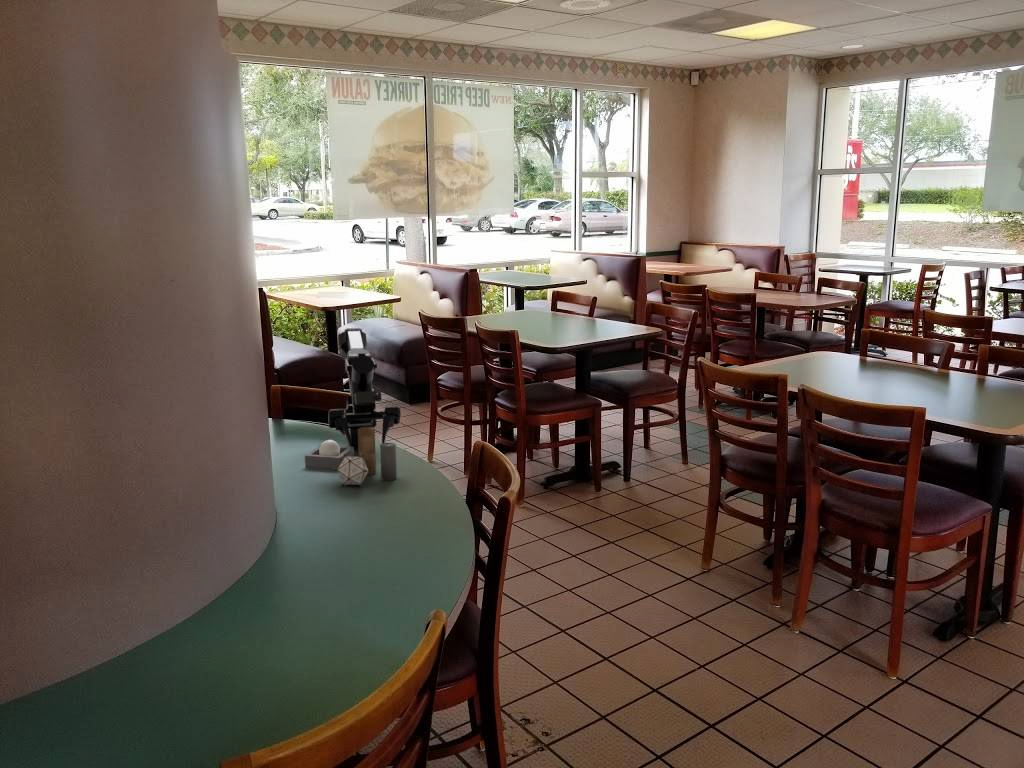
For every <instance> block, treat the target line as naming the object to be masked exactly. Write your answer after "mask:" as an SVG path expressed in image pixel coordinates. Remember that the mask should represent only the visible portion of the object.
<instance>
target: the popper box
mask: <svg viewBox="0 0 1024 768" xmlns="http://www.w3.org/2000/svg"><path fill="white" fill-rule="evenodd" d="M320 446H321V444H319V445H318V446H316V447H315V448H313V449H312V450H311V451H309V452H308V453H306V454H305V455H304V465H305V466H304V467H305V468H316V469H317V468H319V469H330V470H334V469H338V467H339V465H340V464H341V462H342V461H343V459H344V458H345V456H344V454H346V456H355V450H354V447H347V446H345V445H343V446H341V445H339V447H340V455H339V456H326V455H319V448H320Z"/></svg>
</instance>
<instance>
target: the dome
mask: <svg viewBox="0 0 1024 768" xmlns="http://www.w3.org/2000/svg"><path fill="white" fill-rule="evenodd" d="M320 445H321V446H320V448H319V455H326V456H339V455H340V447H339V446H340V445H339V444H338V443H337V441H335V440H333V439H326V440H325V441H323V442H322V443H321V444H320Z"/></svg>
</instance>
